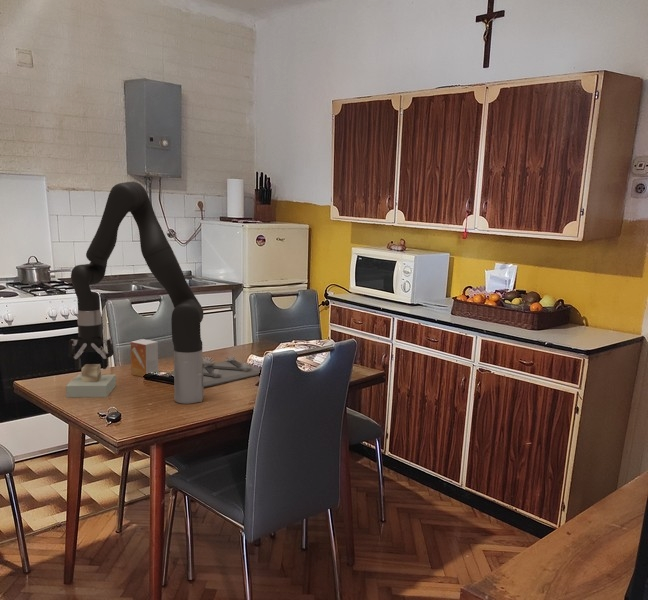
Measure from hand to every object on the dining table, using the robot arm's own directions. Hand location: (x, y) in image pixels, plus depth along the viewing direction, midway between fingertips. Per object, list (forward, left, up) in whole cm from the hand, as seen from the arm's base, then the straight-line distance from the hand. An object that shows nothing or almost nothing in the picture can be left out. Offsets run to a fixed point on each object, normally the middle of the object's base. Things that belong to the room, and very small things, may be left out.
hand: (91, 368), depth 199 cm
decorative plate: (-41, -19, -9) cm, 46 cm away
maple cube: (0, 0, -4) cm, 4 cm away
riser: (0, 0, -8) cm, 8 cm away
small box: (-14, -20, -8) cm, 26 cm away
